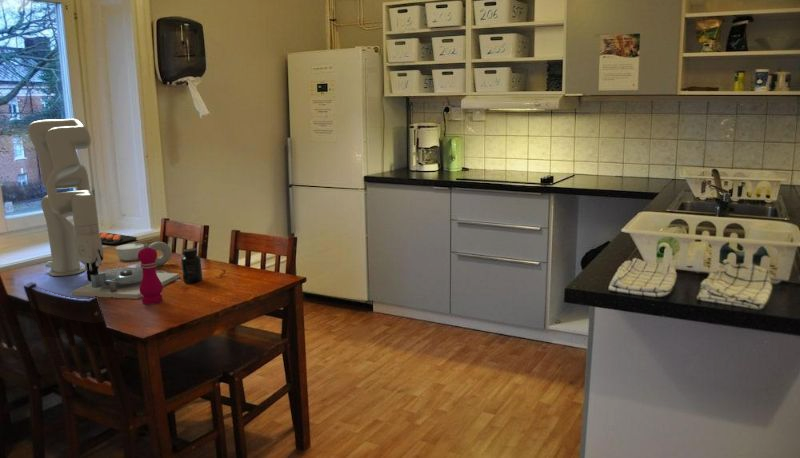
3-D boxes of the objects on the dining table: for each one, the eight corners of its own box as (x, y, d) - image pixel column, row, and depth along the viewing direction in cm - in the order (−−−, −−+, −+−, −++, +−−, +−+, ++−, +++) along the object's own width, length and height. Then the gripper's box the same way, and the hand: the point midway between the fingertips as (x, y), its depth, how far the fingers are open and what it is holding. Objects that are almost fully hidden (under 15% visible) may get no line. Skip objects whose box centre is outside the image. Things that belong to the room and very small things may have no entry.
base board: (71, 295, 230) (70, 287, 229) (119, 275, 254) (118, 268, 254) (137, 298, 224) (136, 290, 223) (179, 277, 248) (178, 270, 248)
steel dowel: (109, 292, 227) (107, 282, 226) (112, 290, 229) (111, 280, 228) (114, 292, 227) (112, 282, 226) (117, 290, 229) (116, 280, 228)
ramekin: (151, 256, 283) (149, 244, 281) (128, 262, 273) (126, 250, 272) (134, 254, 288) (133, 242, 287) (111, 259, 279) (110, 247, 278)
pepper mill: (144, 298, 223) (138, 241, 219) (166, 297, 224) (160, 240, 220) (138, 305, 216) (131, 246, 212) (160, 304, 217) (154, 245, 213)
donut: (148, 268, 263) (145, 244, 260) (145, 267, 265) (143, 242, 263) (173, 264, 268) (171, 240, 266) (170, 262, 271) (168, 239, 269)
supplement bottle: (206, 279, 245) (203, 248, 242) (195, 284, 239) (192, 252, 236) (190, 278, 247) (187, 247, 245) (179, 283, 241) (176, 251, 238)
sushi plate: (140, 241, 316) (139, 233, 315) (81, 255, 291) (80, 246, 290) (103, 235, 331) (102, 228, 330) (44, 248, 307) (43, 240, 306)
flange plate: (132, 269, 251) (130, 257, 250) (163, 274, 241) (162, 263, 240) (78, 284, 232) (76, 272, 231) (110, 291, 223) (108, 278, 222)
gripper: (64, 229, 228) (71, 280, 232) (89, 233, 220) (96, 286, 224) (84, 225, 234) (90, 275, 238) (110, 229, 226) (116, 280, 230)
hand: (93, 280), depth 231 cm, fingers closed
